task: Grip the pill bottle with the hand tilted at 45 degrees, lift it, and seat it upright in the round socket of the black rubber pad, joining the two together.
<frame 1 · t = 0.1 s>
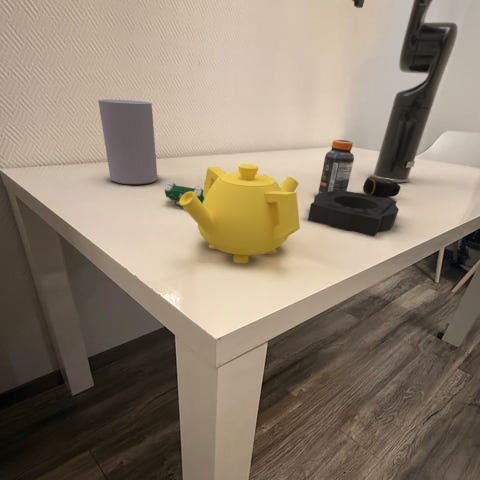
hand: (388, 5, 45), 29 cm above the table, tool pointing down, fingers open, 8 cm apart
teapot: (242, 249, 48), on the table
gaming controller: (189, 206, 63), on the table
socket pad: (351, 218, 63), on the table
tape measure: (377, 196, 78), on the table
pill bottle: (330, 198, 74), on the table
container: (134, 180, 76), on the table
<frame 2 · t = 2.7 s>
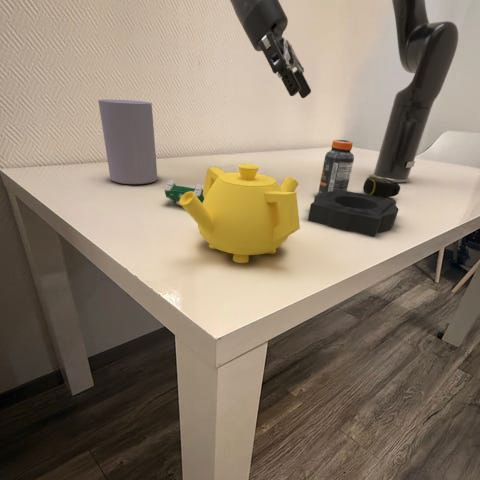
hand: (301, 94, 66), 18 cm above the table, tool tilted 40°, fingers open, 8 cm apart
nothing on the table moved.
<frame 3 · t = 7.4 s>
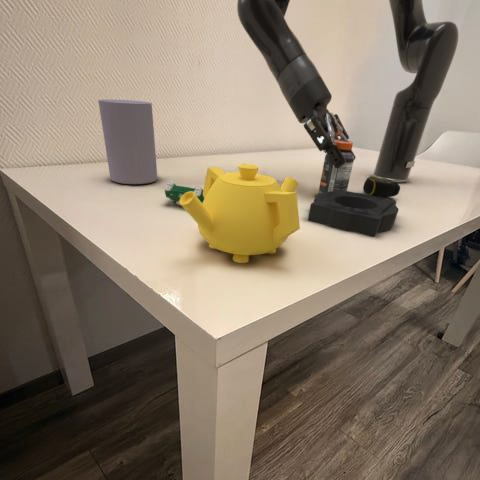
hand: (346, 163, 69), 7 cm above the table, tool tilted 45°, fingers closed on pill bottle, 6 cm apart
pill bottle: (330, 198, 74), on the table, touching gripper
everything else where it was.
when the fingers open (7 cm above the table, at t = 15.9 s): pill bottle stays where it is, resting in socket pad.
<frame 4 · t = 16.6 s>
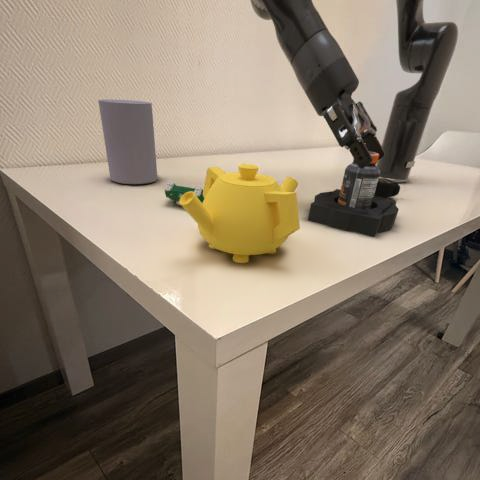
hand: (374, 162, 56), 10 cm above the table, tool tilted 45°, fingers open, 8 cm apart
pill bottle: (350, 219, 63), resting in socket pad
everything else where it was.
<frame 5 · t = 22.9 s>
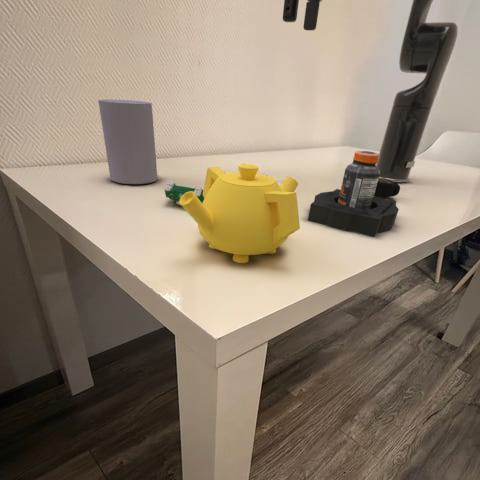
hand: (299, 26, 57), 28 cm above the table, tool pointing down, fingers open, 8 cm apart
nothing on the table moved.
at the end: pill bottle 0.2 cm off-centre in the socket pad, point 0.0 cm above the socket pad's base; pill bottle tilted 0°; the gripper is holding nothing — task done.
